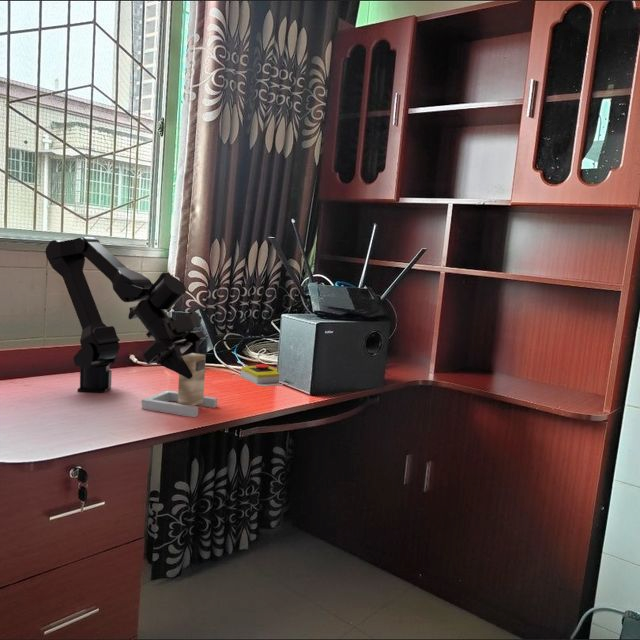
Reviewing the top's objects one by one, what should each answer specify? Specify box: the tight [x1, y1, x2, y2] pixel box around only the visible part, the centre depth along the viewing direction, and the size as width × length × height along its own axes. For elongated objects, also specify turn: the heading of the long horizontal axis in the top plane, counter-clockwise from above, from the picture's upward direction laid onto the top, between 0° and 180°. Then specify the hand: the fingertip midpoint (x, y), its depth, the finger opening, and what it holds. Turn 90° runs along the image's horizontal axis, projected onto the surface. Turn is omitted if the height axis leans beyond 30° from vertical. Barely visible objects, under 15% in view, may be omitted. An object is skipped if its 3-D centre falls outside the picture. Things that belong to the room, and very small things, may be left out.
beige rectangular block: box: [177, 353, 207, 406], centre depth 140 cm, size 4×6×11 cm
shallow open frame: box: [141, 390, 218, 418], centre depth 142 cm, size 14×10×2 cm
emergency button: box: [238, 363, 284, 387], centre depth 176 cm, size 9×4×15 cm
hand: (197, 375), depth 140 cm, fingers closed on beige rectangular block, 5 cm apart
